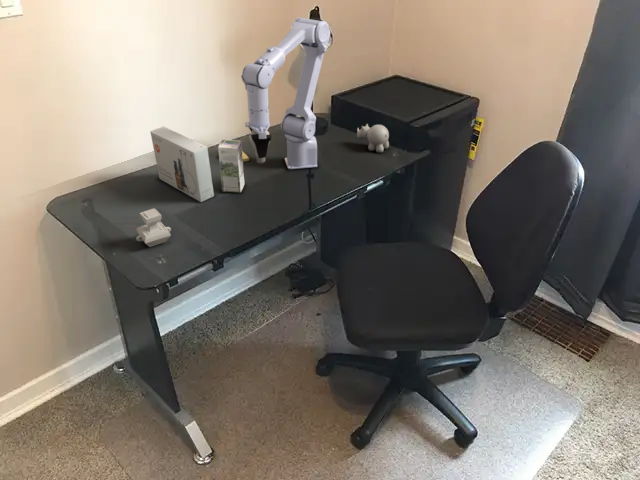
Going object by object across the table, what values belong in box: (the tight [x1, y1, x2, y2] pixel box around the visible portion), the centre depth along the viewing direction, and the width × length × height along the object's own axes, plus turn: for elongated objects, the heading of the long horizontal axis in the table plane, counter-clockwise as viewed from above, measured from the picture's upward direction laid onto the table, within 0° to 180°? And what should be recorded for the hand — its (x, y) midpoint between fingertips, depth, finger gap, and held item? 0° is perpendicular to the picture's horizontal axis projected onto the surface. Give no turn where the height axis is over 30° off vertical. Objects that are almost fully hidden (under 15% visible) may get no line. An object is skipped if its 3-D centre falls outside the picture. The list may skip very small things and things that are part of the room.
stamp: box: [135, 207, 172, 248], centre depth 141 cm, size 9×7×8 cm
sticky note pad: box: [242, 150, 250, 163], centre depth 185 cm, size 8×8×1 cm
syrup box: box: [217, 139, 246, 194], centre depth 164 cm, size 6×6×14 cm
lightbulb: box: [248, 130, 271, 165], centre depth 164 cm, size 6×6×11 cm
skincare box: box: [149, 126, 215, 203], centre depth 164 cm, size 21×5×16 cm, turn 47°
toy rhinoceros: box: [356, 123, 390, 154], centre depth 192 cm, size 7×12×8 cm, turn 52°
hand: (260, 152), depth 165 cm, fingers closed on lightbulb, 6 cm apart
